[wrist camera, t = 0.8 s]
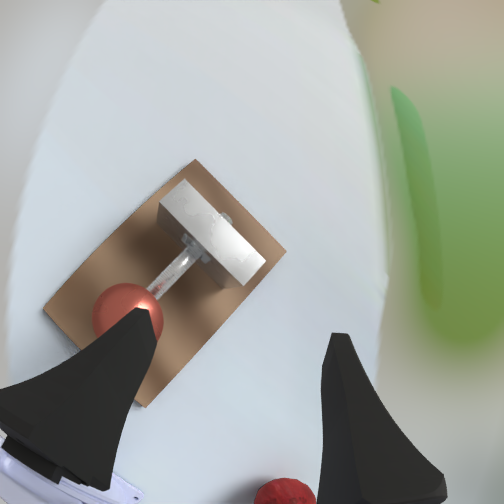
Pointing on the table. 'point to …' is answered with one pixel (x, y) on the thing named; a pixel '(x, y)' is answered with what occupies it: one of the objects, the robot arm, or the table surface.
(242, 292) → the board
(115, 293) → the red knob lever
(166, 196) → the grey rectangular block
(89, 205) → the table surface
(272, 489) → the onion
